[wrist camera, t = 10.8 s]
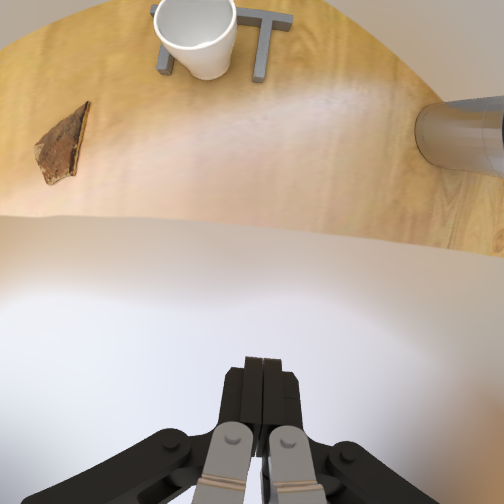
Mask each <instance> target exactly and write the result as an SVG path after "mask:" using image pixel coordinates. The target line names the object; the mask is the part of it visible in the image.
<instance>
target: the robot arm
mask: <svg viewBox="0 0 504 504" xmlns="http://www.w3.org/2000/svg"><path fill="white" fill-rule="evenodd" d="M415 136H416V141H417V145H418V147H419V149H420V151H421V153H422V155H423V156H424V157H425V159H427V160H428V161H429V162H430V163H432V164H433V165H436V166H439V167H445V168H451V169H456V170H462V171H468V172H473V173H478V174H484V175H489V176H494V177H498V178H503V179H504V96H498V97H497V96H496V97H487V98H477V99H468V100H459V101H452V102H444V103H437V104H431V105H429V106H426V107H425V108H424V109H423V110H422V111H421V112H420V114H419V116H418V118H417V121H416V125H415ZM255 452H256V457H262V468H261V472H260V478H261V494H262V504H439V503H438V502H436V501H435V500H434V499H432V498H430V497H429V496H428V495H426V494H425V493H423V492H422V491H420V490H419V489H417V488H416V487H415V486H413V485H412V484H410V483H409V482H408V481H406V480H405V479H404V478H402V477H401V476H399V475H398V474H397V473H395V472H394V471H393V470H391V469H390V468H388V467H387V466H386V465H385V464H383V463H382V462H381V461H379V460H378V459H377V458H375V457H374V456H373V455H371V454H370V453H369V452H367V451H366V450H365V449H364V448H363V447H361V446H360V445H358V444H357V443H354V442H350V441H342V442H339V443H336V444H335V445H334V446H328V445H325V444H321V443H318V442H315V441H313V440H312V439H310V438H309V437H308V436H307V435H306V433H305V432H304V430H303V423H302V412H301V402H300V392H299V382H298V380H297V378H296V377H295V375H294V374H293V372H284V371H282V362H281V359H270V358H264V360H263V358H257V357H247V356H246V357H245V366H244V368H236V367H231V369H230V370H229V371H228V372H227V374H226V375H225V381H224V387H223V394H222V400H221V407H220V413H219V419H218V423H217V425H216V427H215V428H214V429H213V430H211V431H210V432H208V433H206V434H203V435H196V436H187V435H186V434H185V433H184V432H182V431H180V430H178V429H173V428H167V429H162V430H160V431H158V432H156V433H154V434H153V435H151V436H149V437H148V438H146V439H144V440H142V441H141V442H139V443H137V444H135V445H134V446H132V447H130V448H128V449H126V450H124V451H122V452H121V453H119V454H117V455H115V456H113V457H111V458H109V459H108V460H106V461H104V462H102V463H100V464H98V465H96V466H94V467H92V468H90V469H88V470H86V471H84V472H82V473H80V474H78V475H76V476H73V477H71V478H69V479H67V480H65V481H63V482H61V483H58V484H56V485H54V486H52V487H49V488H47V489H45V490H42V491H40V492H38V493H35V494H33V495H31V496H28V497H26V498H25V499H24V500H23V501H22V502H21V504H167V503H168V502H170V501H171V500H173V499H174V498H176V497H177V496H179V495H180V494H182V493H183V492H184V491H186V490H187V489H189V488H190V487H191V486H194V485H196V489H195V493H194V496H193V500H192V503H191V504H243V501H244V495H245V488H246V481H247V475H248V471H249V467H250V462H251V457H254V456H255Z"/></svg>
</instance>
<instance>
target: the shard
mask: <svg viewBox="0 0 504 504" xmlns="http://www.w3.org/2000/svg"><path fill="white" fill-rule="evenodd" d="M88 111H89V101H87V102H86V103H84V104H83V105H82V106H81V107H79V108H78V109H77V110H76V111H74V113H72V114H71V115H69V116H68V117H67V118H65V119H63V120H62V121H60V122H59V123H58V124H57V125H56V126H54V127H53V128H52V129H51V130H50V131H49V132H47V133H46V134H45V135H44V136H43V137H42V138H41V139H40V141H39V142H37V143H36V144H35V145H34V147H33V149H34V153H35V158H36V160H37V163H38V165H39V167H40V169H41V172H42V174H43V176H44V179H45V181H46V183H47V184H48V185H49V186H50V185H52V184H53V183H54V182H56V181H57V180H59V179H60V178H63V177H65V176H75V174H76V162H77V158H78V150H79V146H80V143H81V140H82V136H83V132H84V129H85V125H86V122H87V117H88Z"/></svg>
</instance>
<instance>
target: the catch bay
mask: <svg viewBox="0 0 504 504" xmlns="http://www.w3.org/2000/svg"><path fill="white" fill-rule="evenodd" d="M158 6H159V5H152V6H151V10H150V14H151V15H152V17H153V18H154V15H155V12H156V9H157V7H158ZM236 13H237V24H238V25H247V26H255V27H261V28H260V34H259V40H258V47H257V53H256V60H255V67H254V73H253V80H252V82H259V83H262V82H263V79H264V75H265V69H266V62H267V55H268V48H269V41H270V34H271V29H276V30H282V31H289V29H290V27H291V25H292V21H293V15H289V14H283V13H277V12H271V11H264V10H256V9H248V8H239V7H236ZM173 62H174V57H173V56H172V55H171V54H170V53H169V52H168V51H167V50H166V48H165V47H164V46H163V44H162V42H161V46H160V51H159V57H158V62H157V67H156V69H157V70H158V71H159V72H160V73H161V74H162V75H171V73H172V68H173Z"/></svg>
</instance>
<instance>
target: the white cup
mask: <svg viewBox="0 0 504 504" xmlns="http://www.w3.org/2000/svg"><path fill="white" fill-rule="evenodd" d="M154 28H155V31H156V34H157V35H158V37H159V39H160V41H161V42H162V44H163V46H164V47H165V48H166V50H167V51H168V52H169V53H170V54H171V55H172V56H173V57H174V58H175V59H176V60H178V61H179V62H180V63H181V64H182V65H183V66H185V67H186V68H187V69H188V70H189V72H190V73H191V74H192V75H193V76H195V77H196V78H198V79H202V80H213V79H216V78H219V77H220V76H222V75H223V74H224V73H225V72H226V71H227V70H228V68H229V66H230V62H231V54H232V50H233V47H234V43H235V39H236V35H237V13H236V7H235V4H234V1H233V0H162V1H161V3H160V4H159V6H158V7H157V9H156V12H155V15H154Z"/></svg>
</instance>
